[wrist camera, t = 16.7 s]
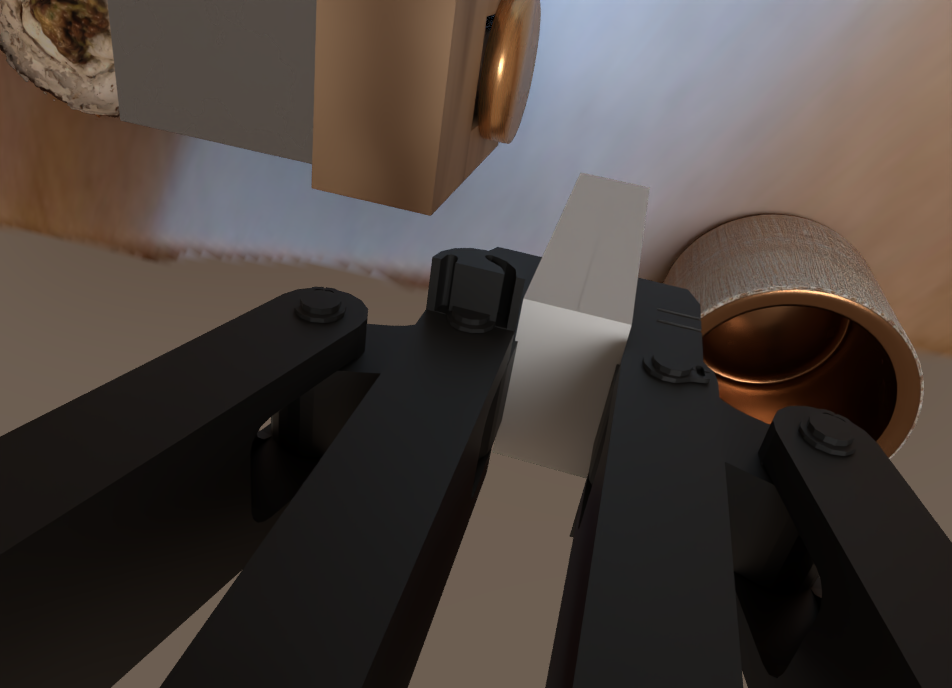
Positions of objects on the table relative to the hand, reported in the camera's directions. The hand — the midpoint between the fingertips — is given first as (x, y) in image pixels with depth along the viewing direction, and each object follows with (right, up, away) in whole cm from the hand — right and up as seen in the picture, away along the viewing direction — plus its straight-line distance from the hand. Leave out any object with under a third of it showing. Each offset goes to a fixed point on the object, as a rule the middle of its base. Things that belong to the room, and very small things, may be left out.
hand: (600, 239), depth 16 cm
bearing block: (-11, +15, +21) cm, 28 cm away
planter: (+13, 0, +23) cm, 26 cm away
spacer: (-3, +13, +20) cm, 24 cm away
